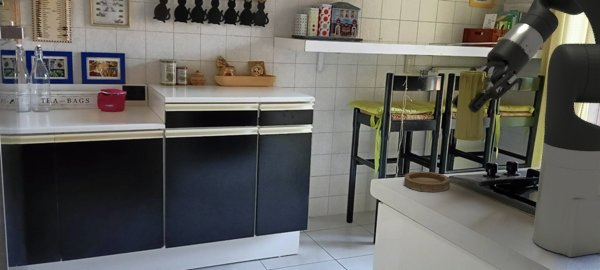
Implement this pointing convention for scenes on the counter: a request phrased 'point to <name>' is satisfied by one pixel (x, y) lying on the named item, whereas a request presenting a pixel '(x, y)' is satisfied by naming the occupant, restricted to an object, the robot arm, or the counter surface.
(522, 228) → the counter surface
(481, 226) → the counter surface
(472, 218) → the counter surface
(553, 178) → the robot arm
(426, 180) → the round tray
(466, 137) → the vase
